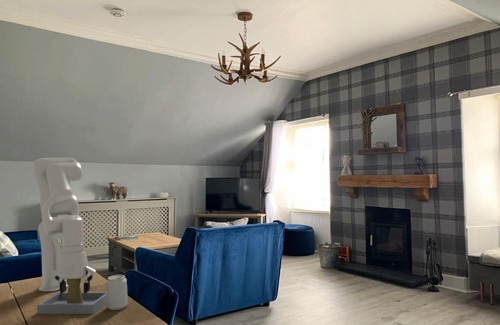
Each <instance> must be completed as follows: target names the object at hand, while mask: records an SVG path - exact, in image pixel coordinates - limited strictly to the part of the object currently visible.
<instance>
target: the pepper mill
mask: <svg viewBox="0 0 500 325" xmlns="http://www.w3.org/2000/svg"><path fill="white" fill-rule="evenodd" d="M66 281H67V285H68V287H67V292H68V295H67V304H83V299H82V294H81V292H82V288H81V282H82V278H81V279H66Z"/></svg>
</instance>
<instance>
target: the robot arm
mask: <svg viewBox="0 0 500 325" xmlns="http://www.w3.org/2000/svg"><path fill="white" fill-rule="evenodd" d="M32 171H33V176H34V179H35V181H36V182H37V186H38V189H39V202H40V203H39V204H40V212H41V220H42V221H41V222H40V223H39V225H38V235H39V240H40V245H41V246H40V248H41V249H40V250H41V274H42V275H41V276H42V277H41V278H42V284H41V285H40V286H39V287H38V291H39V292H43V293H44V292H46V293H47V292H55V291H57V292H58V291H59V292H60V293H63V292H67V288H68V285H67V279H81V280H82V281H83V292H84V293H87V292H90V290H91V281H92V280H93V279H94V277H95V275H96V273H97V271H96V269H94V268H92V267H90V266H89V260H88V255H87V253H86V250H85V244H84V243H85V240H84V239H85V238H84V220H83V218H82V217H81V216H80V206H79V201H78V198H77V196H75V195H74V194H73V189H72V184H71V182H79V181H81V180H82V178H83V176H84V174H83V173H84V172H83V168H82V166H81V163H79V162H78V160H76V159H75V158H72V157H42V158H38V159H35V160H34V161H33V164H32ZM60 240H62V243H61V242H60Z"/></svg>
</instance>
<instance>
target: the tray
mask: <svg viewBox="0 0 500 325" xmlns="http://www.w3.org/2000/svg"><path fill="white" fill-rule="evenodd" d="M81 294H82V299H83V304H67V295H68V291H65V292H63V293H60V291H59V292H57V293H55V294H54V295H52V296H50V297H48V298H47V299H45V300H43V301H41V302H40V303H37V314H38V315H63V314H64V315H94V314H95V313H96V312H98V311H99V310H100V309H101V308H103V307H104V306H106V305H107V291H88V292H87V293H84V291H81Z"/></svg>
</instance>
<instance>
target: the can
mask: <svg viewBox="0 0 500 325" xmlns="http://www.w3.org/2000/svg"><path fill="white" fill-rule="evenodd" d="M105 283H106V292H107V303H106V307H107V309H109V310H110V311H121V310H122V309H125V308H126V306H128V284H127V283H128V282H127V278H126V276H125V275H123V274H115V275H111V276H108V278H107V281H106V282H105Z"/></svg>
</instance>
